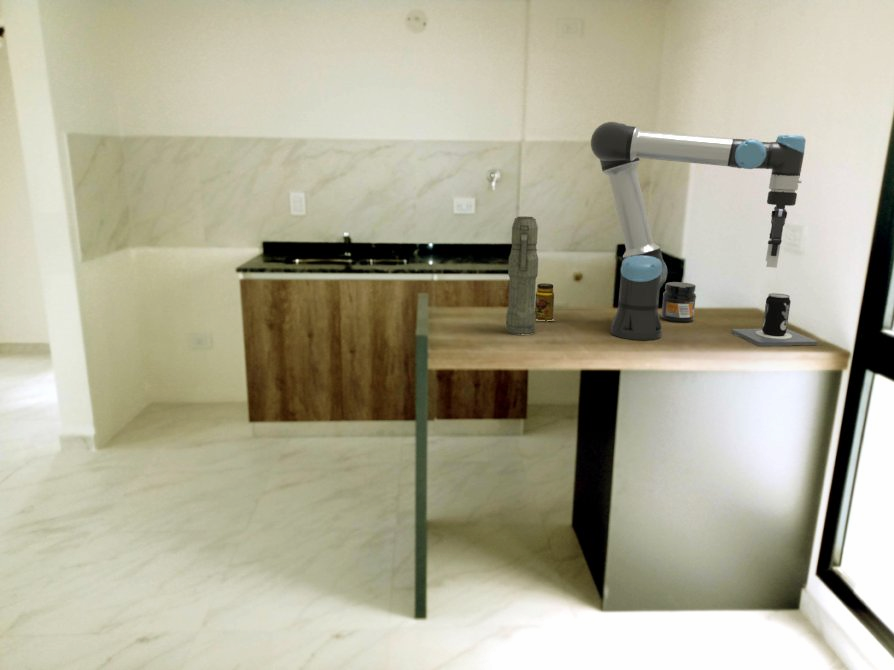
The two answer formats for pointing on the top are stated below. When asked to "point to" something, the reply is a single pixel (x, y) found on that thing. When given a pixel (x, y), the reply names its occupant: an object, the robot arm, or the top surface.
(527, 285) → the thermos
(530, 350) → the top surface
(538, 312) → the condiment
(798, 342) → the plate
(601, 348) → the top surface
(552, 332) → the top surface
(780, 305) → the beverage can
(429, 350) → the top surface
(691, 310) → the supplement container
